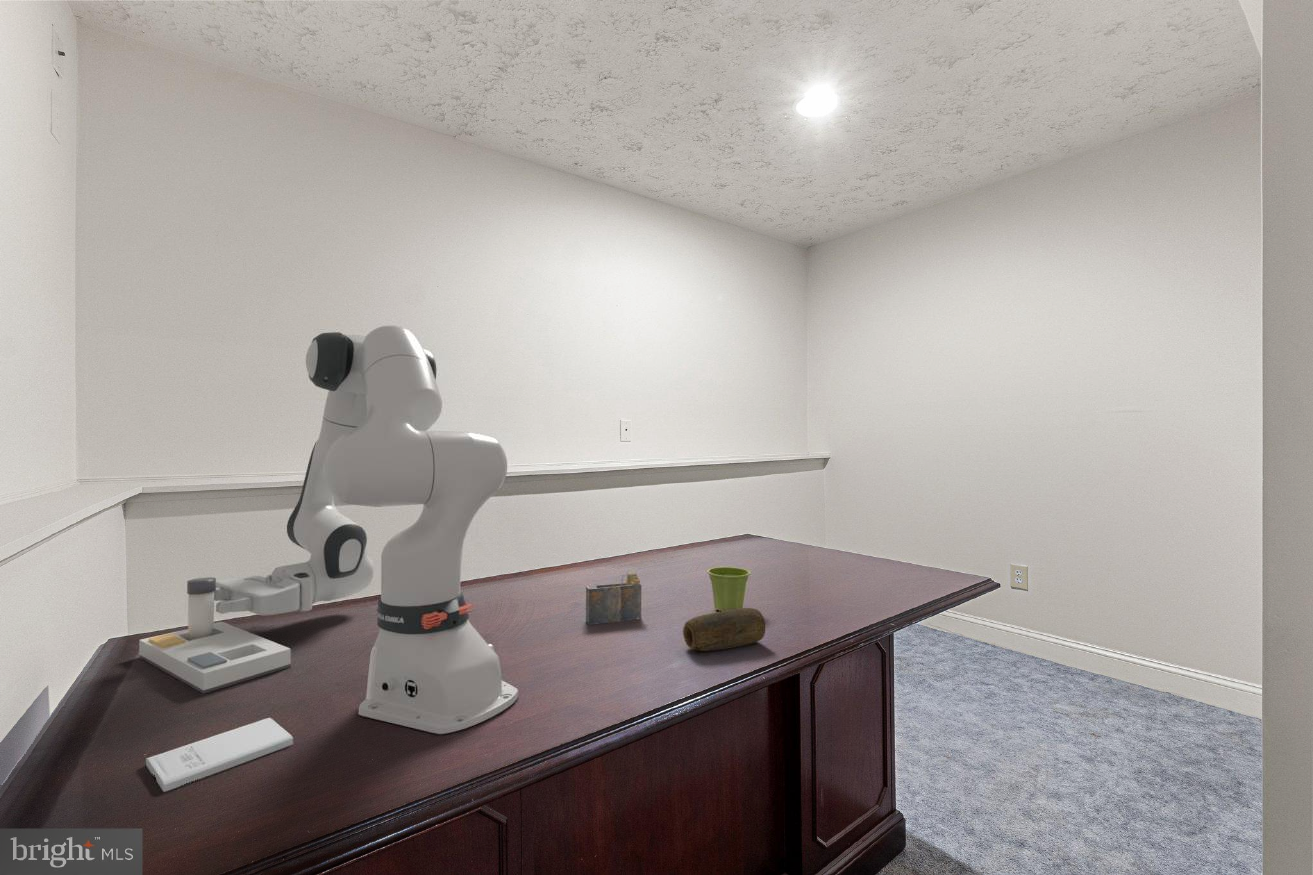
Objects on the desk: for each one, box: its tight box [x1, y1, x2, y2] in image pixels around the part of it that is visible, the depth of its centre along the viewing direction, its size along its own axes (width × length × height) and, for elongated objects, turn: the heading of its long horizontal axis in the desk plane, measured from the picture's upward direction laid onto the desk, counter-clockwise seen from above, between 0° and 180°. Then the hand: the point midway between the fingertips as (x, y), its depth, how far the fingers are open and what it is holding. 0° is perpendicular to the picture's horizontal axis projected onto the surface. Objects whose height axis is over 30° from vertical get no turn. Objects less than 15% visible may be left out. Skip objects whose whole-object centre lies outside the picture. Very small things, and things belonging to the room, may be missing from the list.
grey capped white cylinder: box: [186, 576, 217, 641], centre depth 102 cm, size 4×4×12 cm
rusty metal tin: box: [585, 571, 642, 625], centre depth 122 cm, size 11×3×10 cm, turn 110°
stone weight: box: [682, 607, 766, 652], centre depth 106 cm, size 15×7×7 cm, turn 117°
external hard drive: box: [145, 717, 294, 793], centre depth 69 cm, size 2×8×12 cm
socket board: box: [138, 621, 292, 694], centre depth 97 cm, size 26×12×3 cm, turn 58°
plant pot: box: [707, 566, 751, 612], centre depth 129 cm, size 9×9×9 cm
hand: (206, 604), depth 103 cm, fingers open, 8 cm apart
